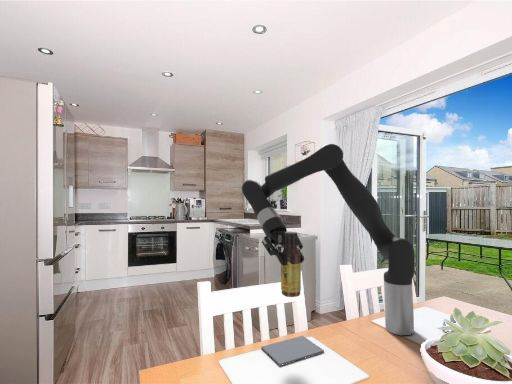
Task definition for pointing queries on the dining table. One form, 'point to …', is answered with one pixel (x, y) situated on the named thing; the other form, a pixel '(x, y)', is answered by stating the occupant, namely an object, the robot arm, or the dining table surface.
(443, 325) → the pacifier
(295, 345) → the gray mat
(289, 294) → the sauce bottle
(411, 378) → the dining table surface
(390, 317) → the robot arm
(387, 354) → the dining table surface
